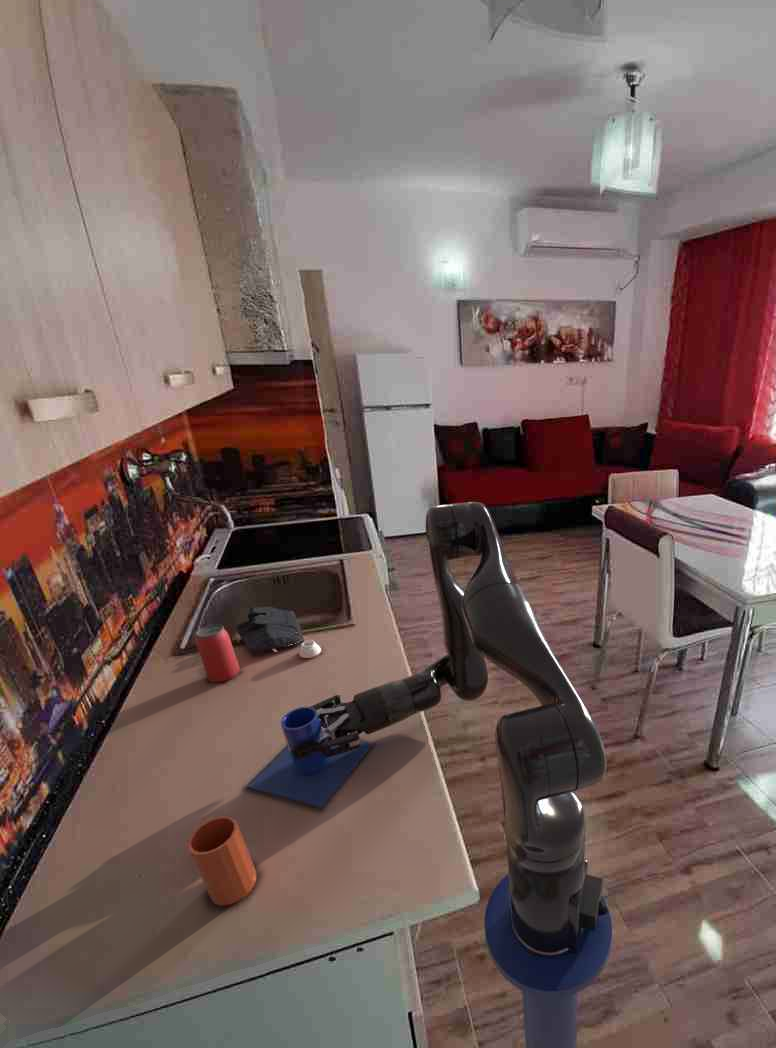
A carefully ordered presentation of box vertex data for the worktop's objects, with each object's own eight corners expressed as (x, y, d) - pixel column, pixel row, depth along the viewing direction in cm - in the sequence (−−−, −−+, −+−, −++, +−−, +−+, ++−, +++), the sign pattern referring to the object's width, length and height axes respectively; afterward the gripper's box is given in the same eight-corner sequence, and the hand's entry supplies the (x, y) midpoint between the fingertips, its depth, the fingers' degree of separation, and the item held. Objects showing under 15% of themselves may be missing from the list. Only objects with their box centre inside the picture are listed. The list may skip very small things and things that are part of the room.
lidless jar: (323, 654, 124) (317, 646, 128) (321, 644, 123) (315, 635, 127) (303, 661, 122) (297, 653, 125) (300, 651, 120) (294, 642, 124)
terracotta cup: (265, 872, 72) (246, 821, 68) (233, 911, 67) (211, 860, 63) (234, 861, 74) (213, 811, 70) (200, 898, 69) (176, 847, 65)
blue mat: (372, 744, 94) (371, 743, 94) (321, 808, 81) (320, 807, 81) (306, 729, 99) (305, 728, 99) (248, 787, 86) (247, 786, 86)
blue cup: (330, 768, 89) (318, 723, 84) (295, 779, 87) (281, 733, 82) (327, 746, 94) (315, 703, 89) (294, 756, 92) (280, 712, 87)
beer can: (245, 673, 118) (230, 628, 113) (216, 687, 114) (200, 641, 109) (232, 663, 122) (218, 620, 117) (204, 677, 118) (188, 632, 113)
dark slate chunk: (242, 663, 122) (236, 646, 120) (235, 626, 140) (231, 610, 138) (307, 644, 129) (303, 628, 127) (293, 611, 146) (290, 596, 144)
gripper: (369, 670, 98) (277, 702, 91) (394, 710, 86) (292, 750, 79) (375, 701, 101) (287, 734, 94) (401, 744, 90) (303, 785, 82)
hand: (290, 741), depth 86 cm, fingers closed on blue cup, 6 cm apart
